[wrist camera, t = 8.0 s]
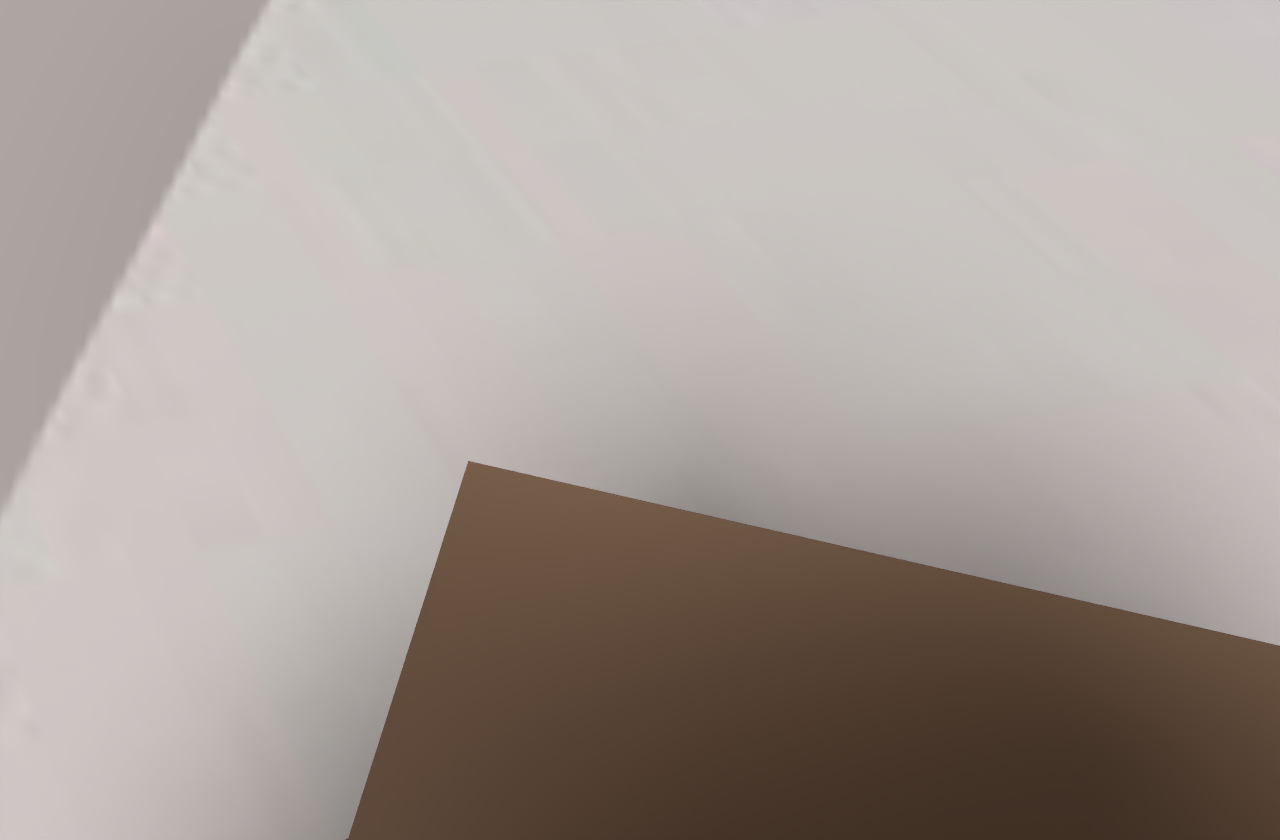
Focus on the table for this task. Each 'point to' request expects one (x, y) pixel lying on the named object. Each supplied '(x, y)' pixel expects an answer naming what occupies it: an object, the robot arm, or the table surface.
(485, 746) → the walnut block
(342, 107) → the table surface
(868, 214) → the table surface
